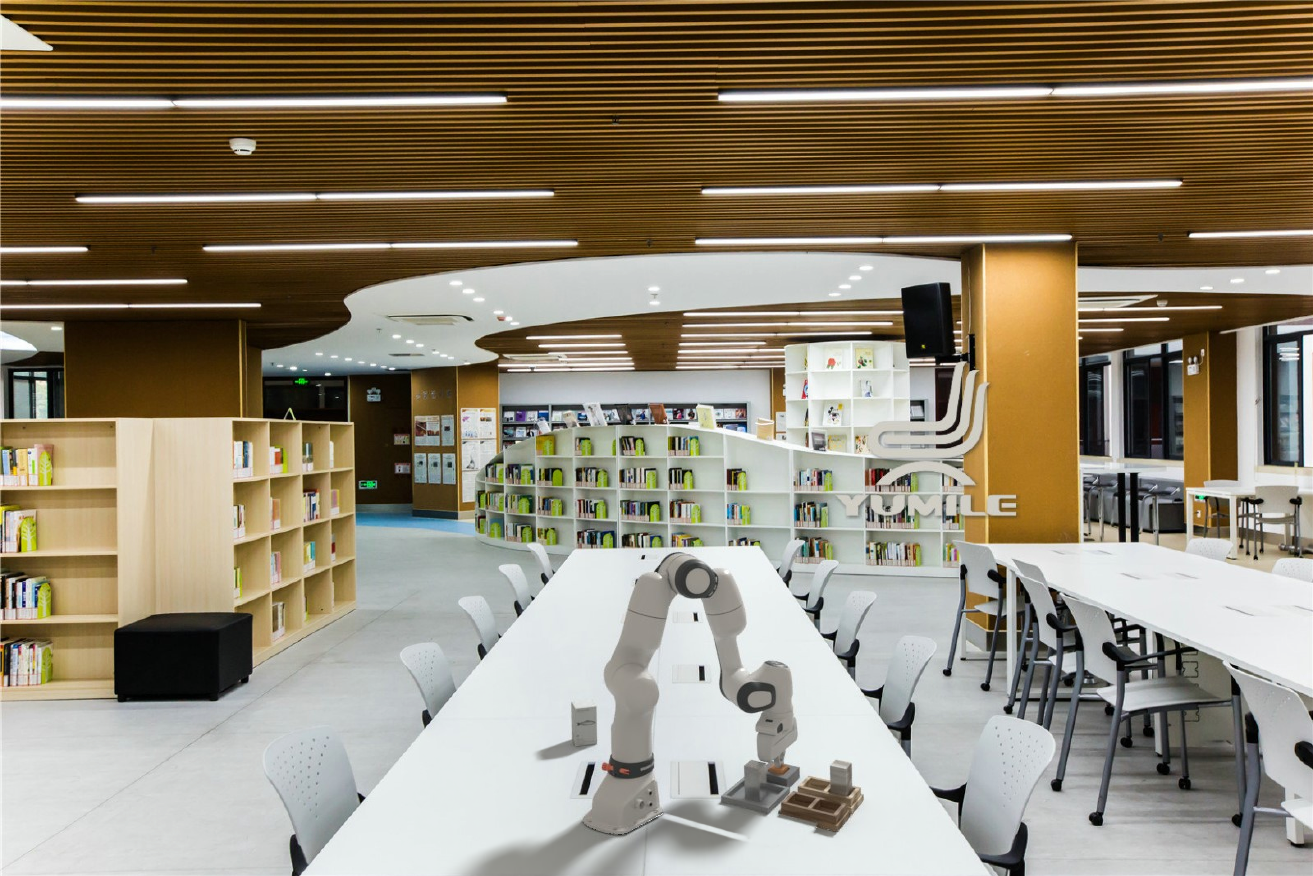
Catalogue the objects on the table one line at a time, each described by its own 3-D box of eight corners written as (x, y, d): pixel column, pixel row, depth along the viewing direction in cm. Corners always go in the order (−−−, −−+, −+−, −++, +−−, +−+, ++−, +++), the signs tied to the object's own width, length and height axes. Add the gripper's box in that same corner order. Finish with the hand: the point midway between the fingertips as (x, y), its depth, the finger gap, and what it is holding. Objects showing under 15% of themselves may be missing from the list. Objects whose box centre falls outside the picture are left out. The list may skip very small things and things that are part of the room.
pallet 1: (851, 814, 211) (851, 774, 211) (795, 800, 220) (794, 761, 220) (863, 799, 219) (862, 761, 219) (808, 786, 228) (807, 749, 228)
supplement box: (575, 747, 260) (574, 708, 260) (571, 739, 267) (570, 701, 267) (597, 744, 262) (596, 706, 262) (593, 736, 269) (592, 698, 269)
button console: (787, 793, 224) (786, 779, 224) (757, 786, 229) (757, 772, 229) (799, 781, 232) (799, 767, 232) (771, 774, 237) (770, 760, 237)
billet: (759, 802, 217) (759, 769, 217) (744, 798, 220) (743, 765, 219) (766, 795, 221) (766, 763, 221) (751, 792, 223) (750, 759, 223)
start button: (782, 781, 228) (782, 770, 228) (769, 778, 230) (769, 767, 230) (788, 776, 231) (788, 765, 231) (775, 773, 233) (775, 762, 233)
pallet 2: (837, 832, 202) (836, 818, 202) (778, 816, 211) (778, 803, 211) (849, 816, 210) (849, 803, 210) (792, 802, 219) (792, 789, 219)
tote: (768, 817, 210) (768, 808, 210) (721, 805, 218) (720, 796, 218) (790, 796, 222) (789, 787, 222) (744, 785, 230) (744, 776, 230)
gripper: (782, 705, 241) (783, 751, 241) (752, 727, 224) (753, 777, 224) (802, 709, 237) (803, 755, 238) (773, 731, 220) (774, 782, 220)
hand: (779, 766), depth 230 cm, fingers closed, pressing on start button
